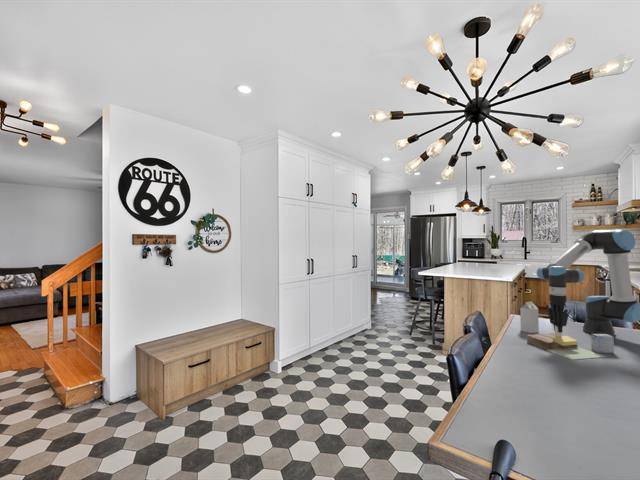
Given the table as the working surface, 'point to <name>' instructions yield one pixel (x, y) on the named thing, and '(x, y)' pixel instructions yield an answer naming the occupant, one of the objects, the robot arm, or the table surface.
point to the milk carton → (529, 318)
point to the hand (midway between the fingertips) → (558, 337)
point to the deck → (546, 341)
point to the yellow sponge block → (565, 340)
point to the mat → (576, 353)
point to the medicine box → (602, 343)
